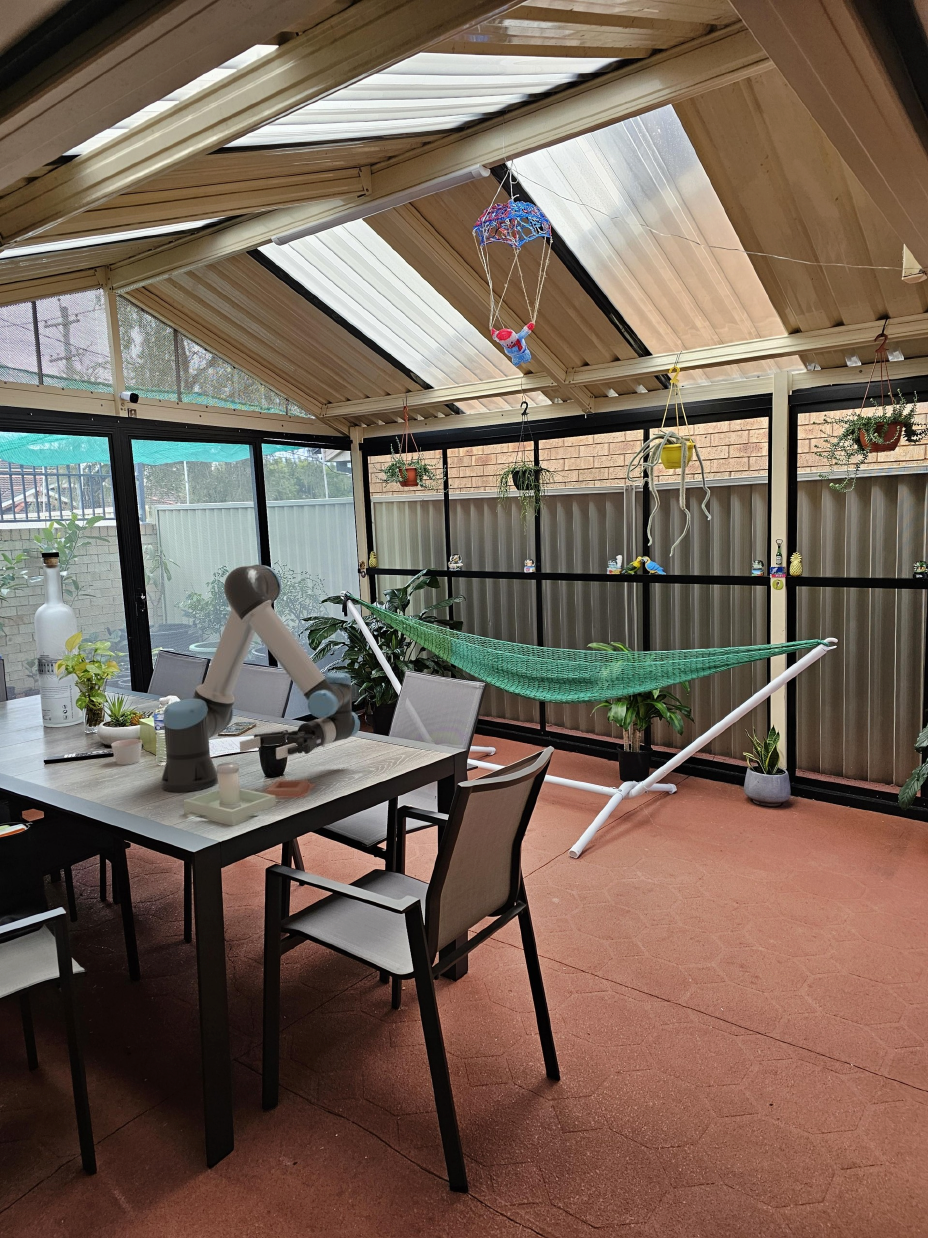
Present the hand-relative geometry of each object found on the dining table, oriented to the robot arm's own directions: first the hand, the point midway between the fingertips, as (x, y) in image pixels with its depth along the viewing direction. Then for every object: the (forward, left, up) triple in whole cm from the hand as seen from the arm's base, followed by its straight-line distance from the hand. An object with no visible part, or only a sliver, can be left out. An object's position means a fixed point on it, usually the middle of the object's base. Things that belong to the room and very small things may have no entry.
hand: (258, 750), depth 218 cm
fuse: (-5, -8, -13) cm, 16 cm away
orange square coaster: (+6, +6, -14) cm, 16 cm away
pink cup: (-55, +41, -14) cm, 70 cm away
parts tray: (-5, -8, -14) cm, 17 cm away
